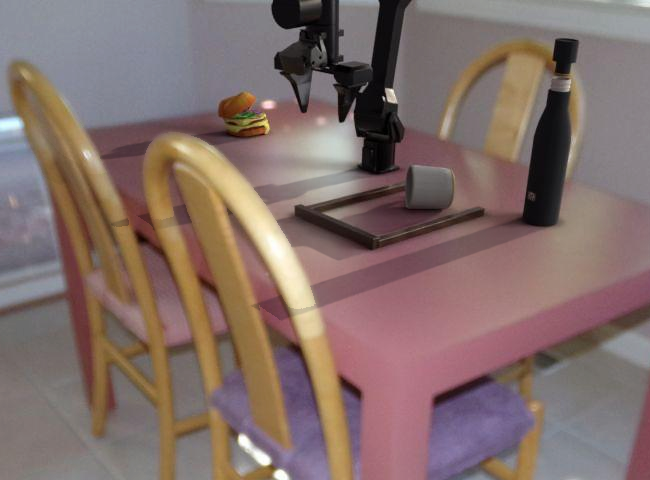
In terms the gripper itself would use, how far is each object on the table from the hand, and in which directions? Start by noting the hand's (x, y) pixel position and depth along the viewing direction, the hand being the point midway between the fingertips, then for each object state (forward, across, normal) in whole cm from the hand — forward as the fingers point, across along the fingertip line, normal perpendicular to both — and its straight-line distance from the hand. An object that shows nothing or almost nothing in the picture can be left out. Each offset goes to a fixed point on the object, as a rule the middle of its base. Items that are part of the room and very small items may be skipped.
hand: (322, 117), depth 143 cm
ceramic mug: (+14, +18, +9) cm, 24 cm away
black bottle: (+14, +37, +17) cm, 43 cm away
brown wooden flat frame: (+14, +17, 0) cm, 22 cm away
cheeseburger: (+14, -42, +19) cm, 49 cm away
